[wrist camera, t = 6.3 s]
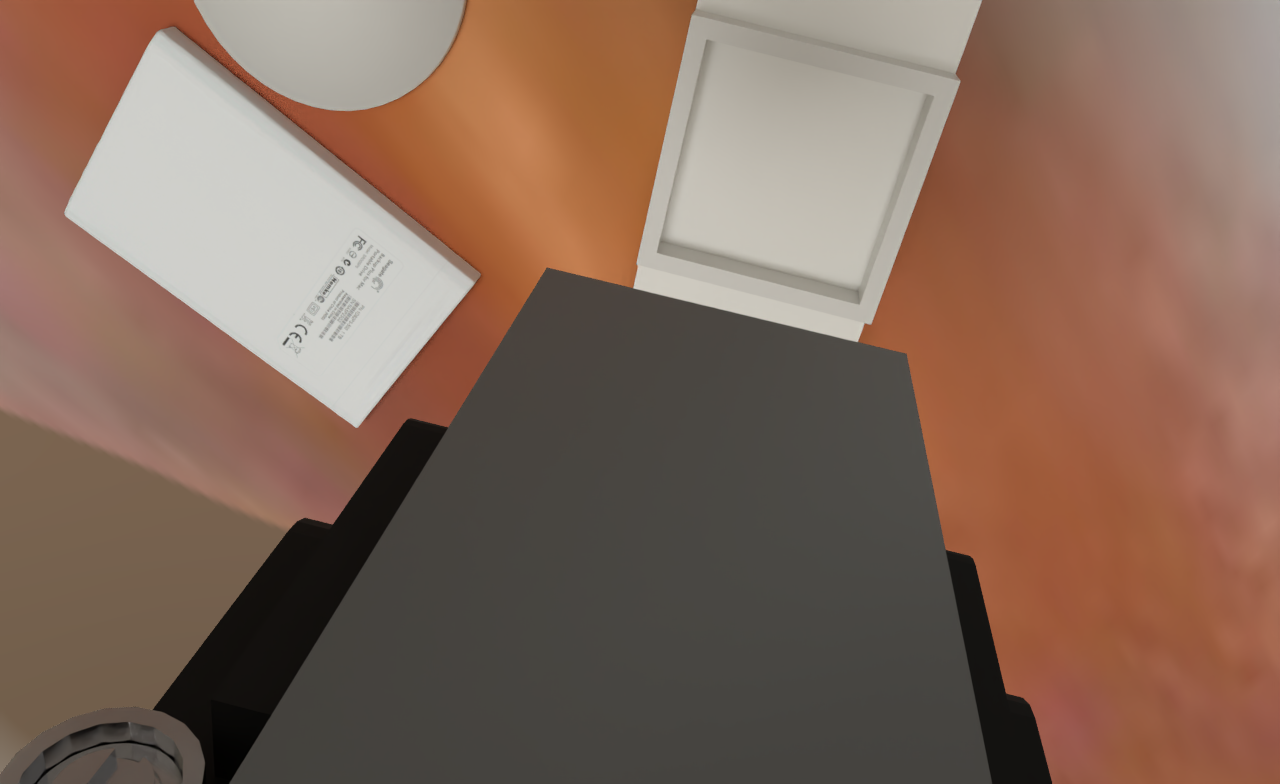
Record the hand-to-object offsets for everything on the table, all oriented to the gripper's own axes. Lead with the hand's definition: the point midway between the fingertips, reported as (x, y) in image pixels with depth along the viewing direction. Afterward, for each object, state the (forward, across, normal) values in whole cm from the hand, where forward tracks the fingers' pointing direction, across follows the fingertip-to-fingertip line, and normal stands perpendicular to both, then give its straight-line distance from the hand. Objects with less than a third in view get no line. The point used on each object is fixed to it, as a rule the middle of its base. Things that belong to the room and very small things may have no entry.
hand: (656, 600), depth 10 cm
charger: (+3, 0, 0) cm, 3 cm away
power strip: (+22, -1, +2) cm, 22 cm away
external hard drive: (+23, +15, +8) cm, 29 cm away
